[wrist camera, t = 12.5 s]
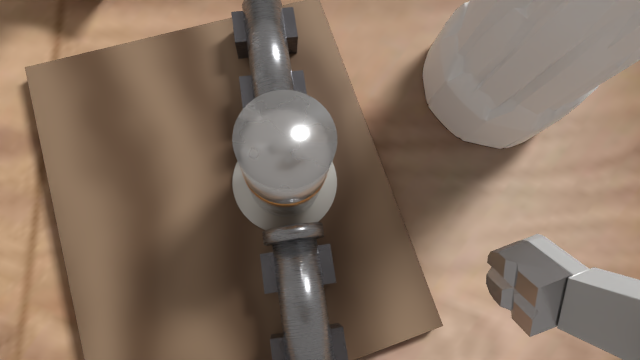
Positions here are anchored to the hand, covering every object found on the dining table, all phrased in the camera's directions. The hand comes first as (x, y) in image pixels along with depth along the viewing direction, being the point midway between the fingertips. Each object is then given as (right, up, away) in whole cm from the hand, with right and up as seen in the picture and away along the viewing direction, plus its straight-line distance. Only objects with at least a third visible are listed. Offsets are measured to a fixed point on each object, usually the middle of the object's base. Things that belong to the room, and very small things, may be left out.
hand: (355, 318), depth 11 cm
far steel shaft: (-5, +11, +20) cm, 23 cm away
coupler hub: (-3, +4, +18) cm, 18 cm away
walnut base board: (-7, +2, +18) cm, 20 cm away
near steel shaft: (-2, -4, +16) cm, 17 cm away
